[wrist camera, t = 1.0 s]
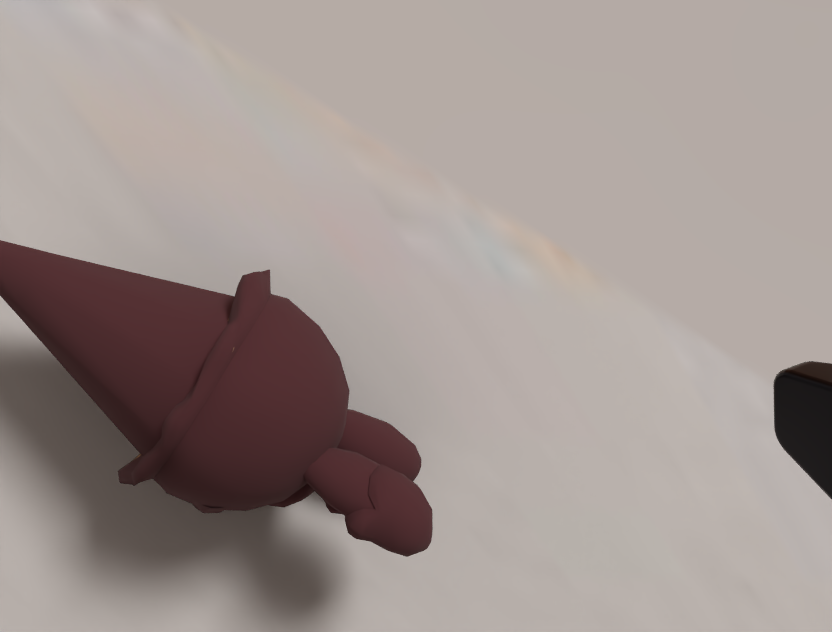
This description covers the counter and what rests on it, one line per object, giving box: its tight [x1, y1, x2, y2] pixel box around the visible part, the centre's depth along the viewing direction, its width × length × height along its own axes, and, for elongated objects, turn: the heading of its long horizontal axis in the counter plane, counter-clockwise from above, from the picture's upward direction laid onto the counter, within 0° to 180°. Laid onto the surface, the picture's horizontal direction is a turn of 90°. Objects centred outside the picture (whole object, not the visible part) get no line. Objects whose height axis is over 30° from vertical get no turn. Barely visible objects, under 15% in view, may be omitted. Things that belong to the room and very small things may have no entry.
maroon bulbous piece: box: [0, 240, 432, 557], centre depth 20 cm, size 7×7×15 cm
